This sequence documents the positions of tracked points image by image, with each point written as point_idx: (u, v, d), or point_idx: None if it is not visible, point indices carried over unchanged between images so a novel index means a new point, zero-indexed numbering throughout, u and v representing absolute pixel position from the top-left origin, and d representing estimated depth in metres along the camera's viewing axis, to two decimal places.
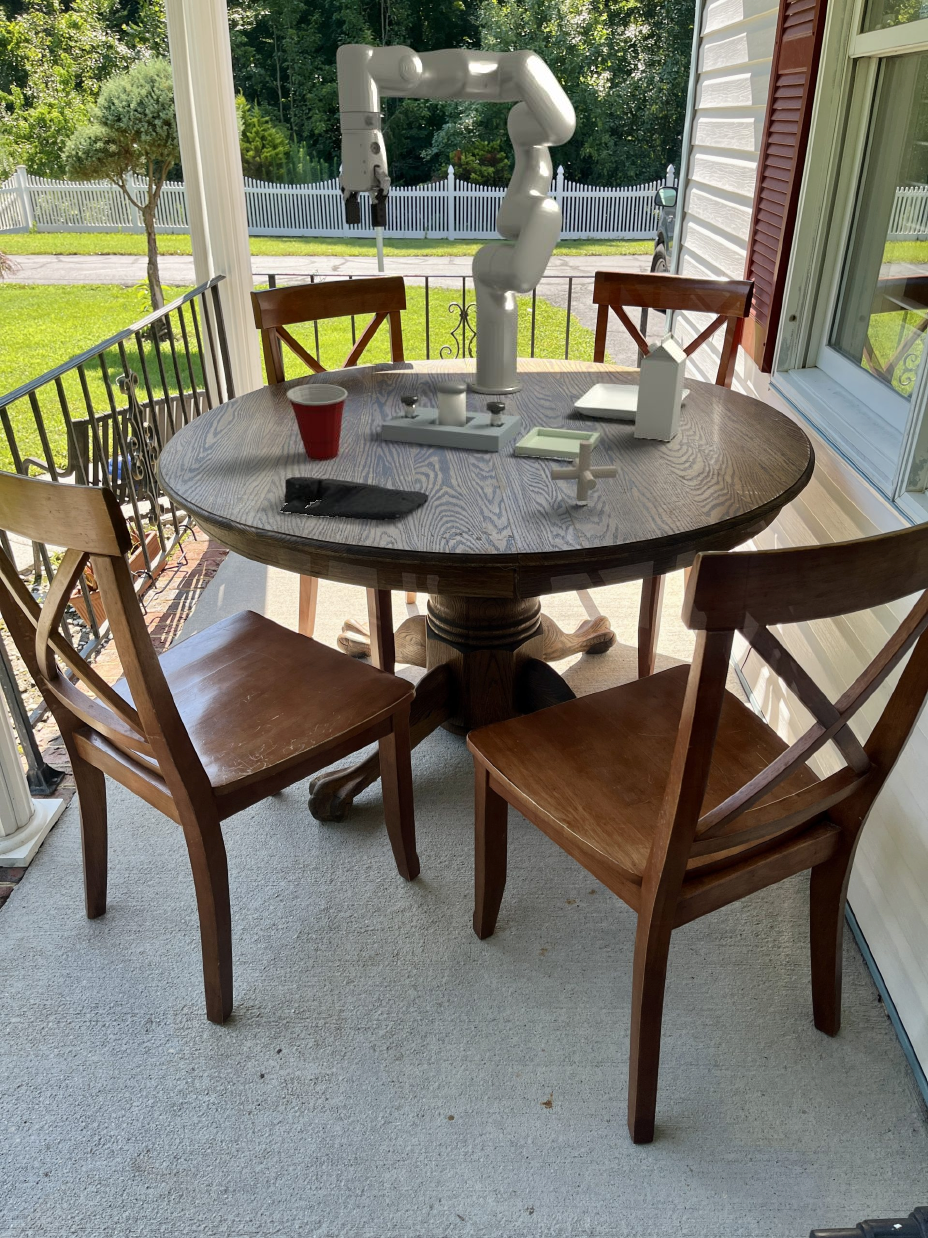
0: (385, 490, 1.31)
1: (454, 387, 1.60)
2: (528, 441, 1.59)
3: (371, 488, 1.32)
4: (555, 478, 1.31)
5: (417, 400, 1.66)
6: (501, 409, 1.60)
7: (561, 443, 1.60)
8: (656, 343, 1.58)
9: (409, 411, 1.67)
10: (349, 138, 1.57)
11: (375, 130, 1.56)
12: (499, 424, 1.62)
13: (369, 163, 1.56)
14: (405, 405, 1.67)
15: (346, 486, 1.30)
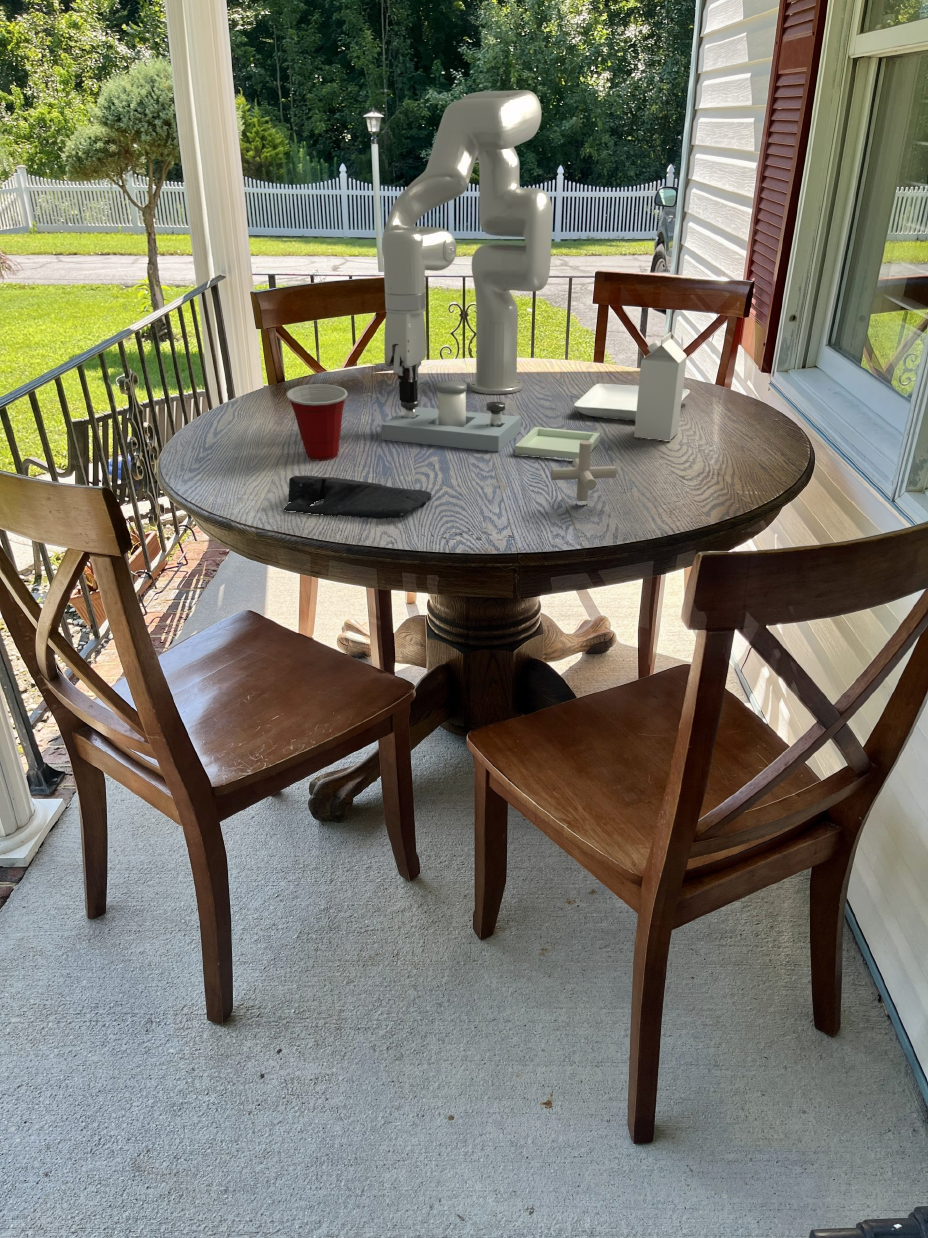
0: (389, 489, 1.31)
1: (454, 387, 1.60)
2: (528, 441, 1.59)
3: (375, 487, 1.32)
4: (555, 478, 1.31)
5: (417, 404, 1.67)
6: (501, 409, 1.60)
7: (561, 443, 1.60)
8: (656, 343, 1.58)
9: (409, 415, 1.67)
10: (418, 316, 1.58)
11: None
12: (499, 424, 1.62)
13: None
14: (405, 409, 1.67)
15: (350, 485, 1.31)
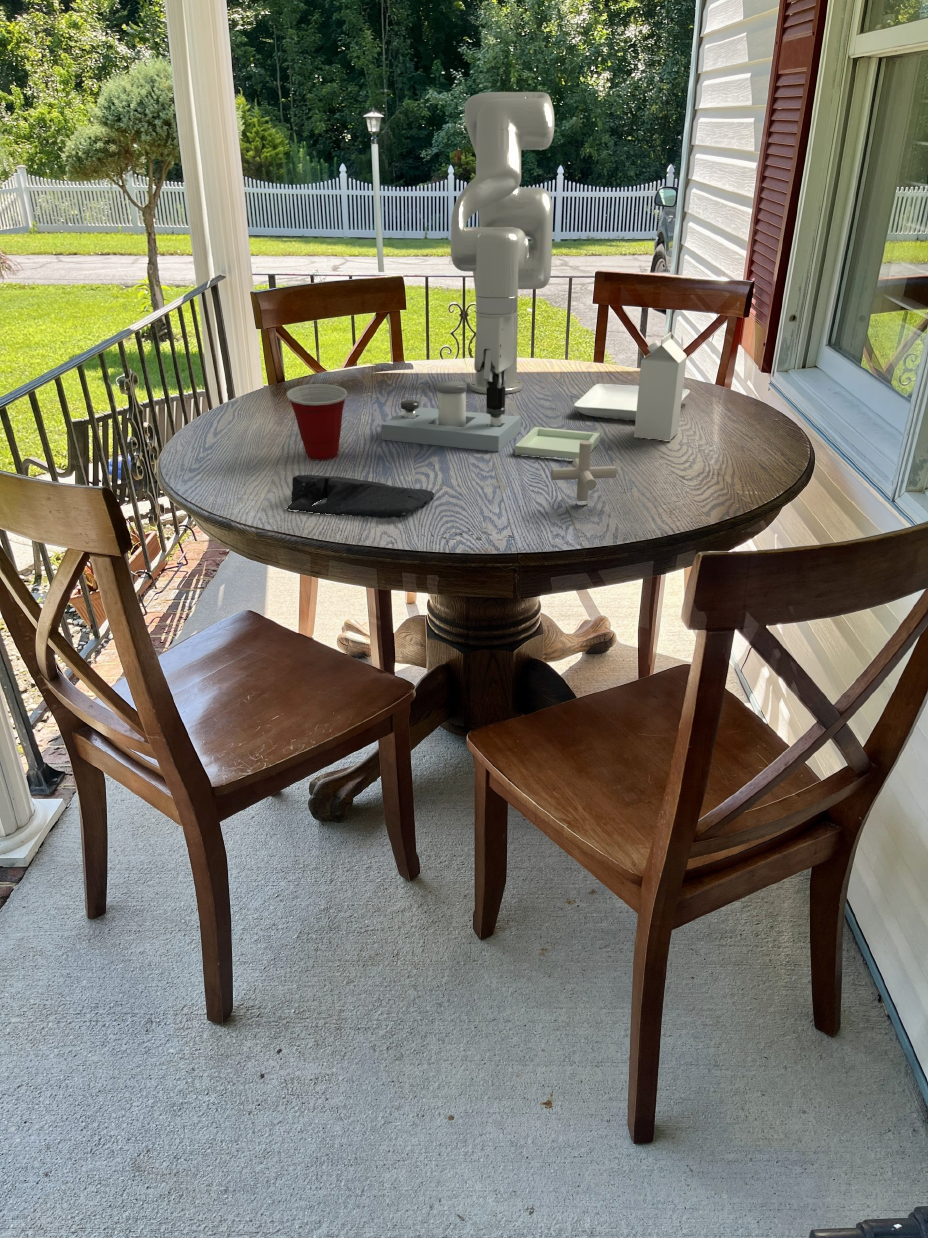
0: (391, 488, 1.32)
1: (454, 387, 1.60)
2: (528, 441, 1.59)
3: (377, 486, 1.32)
4: (555, 478, 1.31)
5: (417, 406, 1.67)
6: (501, 412, 1.60)
7: (561, 443, 1.60)
8: (656, 343, 1.58)
9: (409, 417, 1.68)
10: (509, 320, 1.53)
11: None
12: None
13: None
14: (405, 411, 1.67)
15: (353, 484, 1.31)
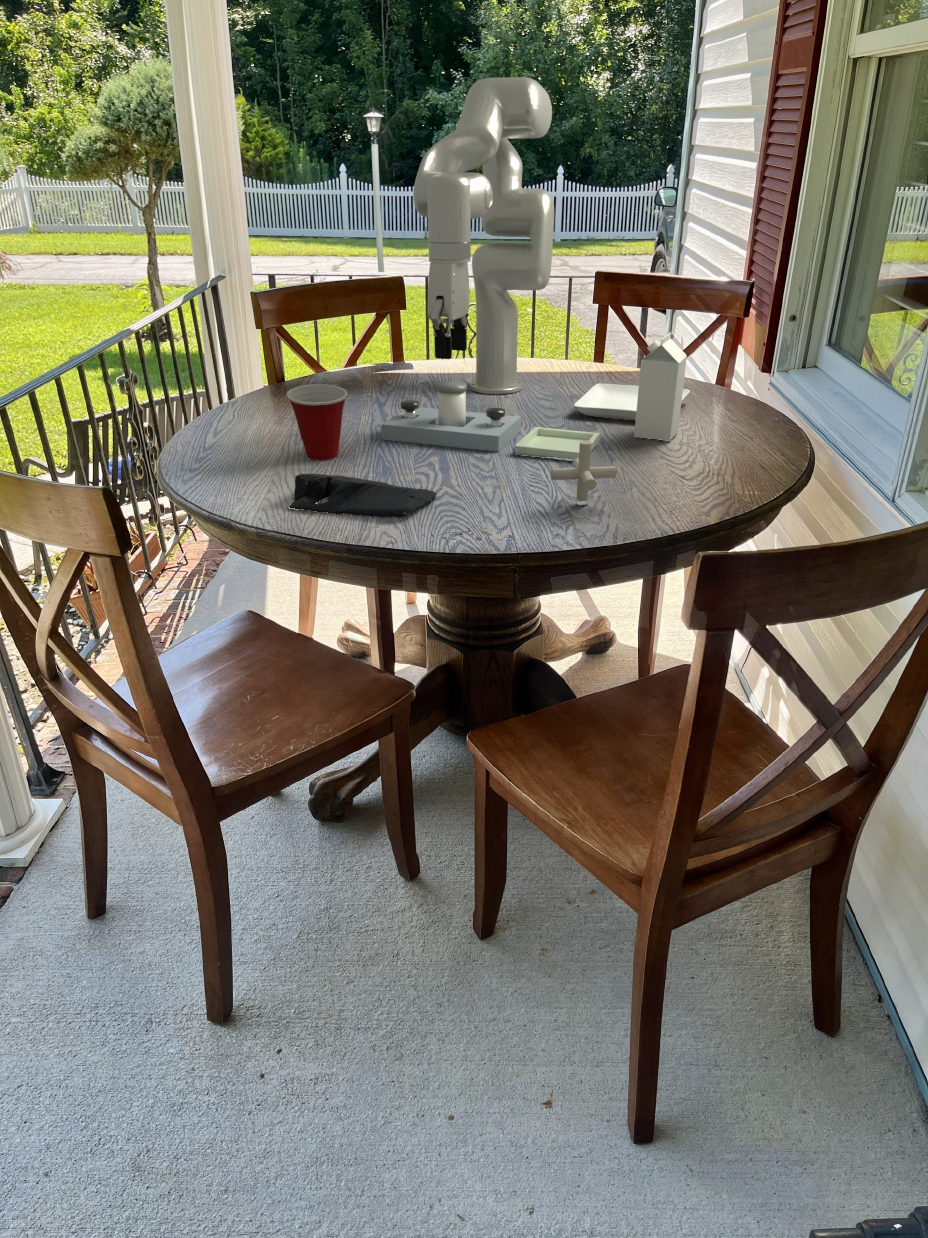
0: (393, 488, 1.32)
1: (454, 387, 1.60)
2: (528, 441, 1.59)
3: (379, 485, 1.33)
4: (555, 478, 1.31)
5: (417, 406, 1.67)
6: (501, 415, 1.61)
7: (561, 443, 1.60)
8: (656, 343, 1.58)
9: (409, 417, 1.68)
10: (462, 267, 1.51)
11: None
12: None
13: None
14: (405, 411, 1.67)
15: (354, 483, 1.31)
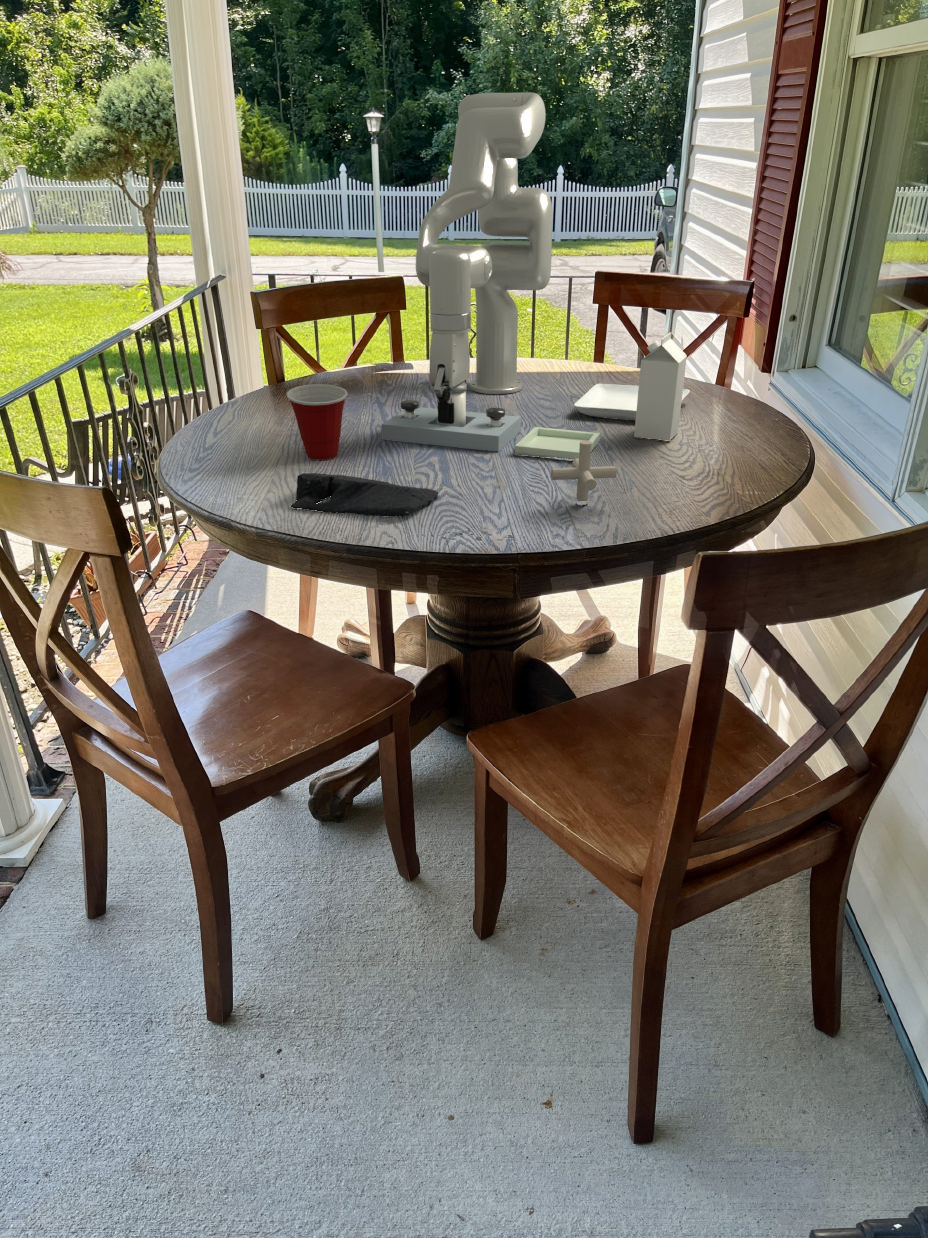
0: (395, 487, 1.32)
1: (454, 387, 1.60)
2: (528, 441, 1.59)
3: (381, 485, 1.33)
4: (555, 478, 1.31)
5: (417, 406, 1.67)
6: (501, 415, 1.61)
7: (561, 443, 1.60)
8: (656, 343, 1.58)
9: (409, 417, 1.68)
10: (463, 336, 1.57)
11: None
12: None
13: None
14: (405, 411, 1.67)
15: (356, 483, 1.32)
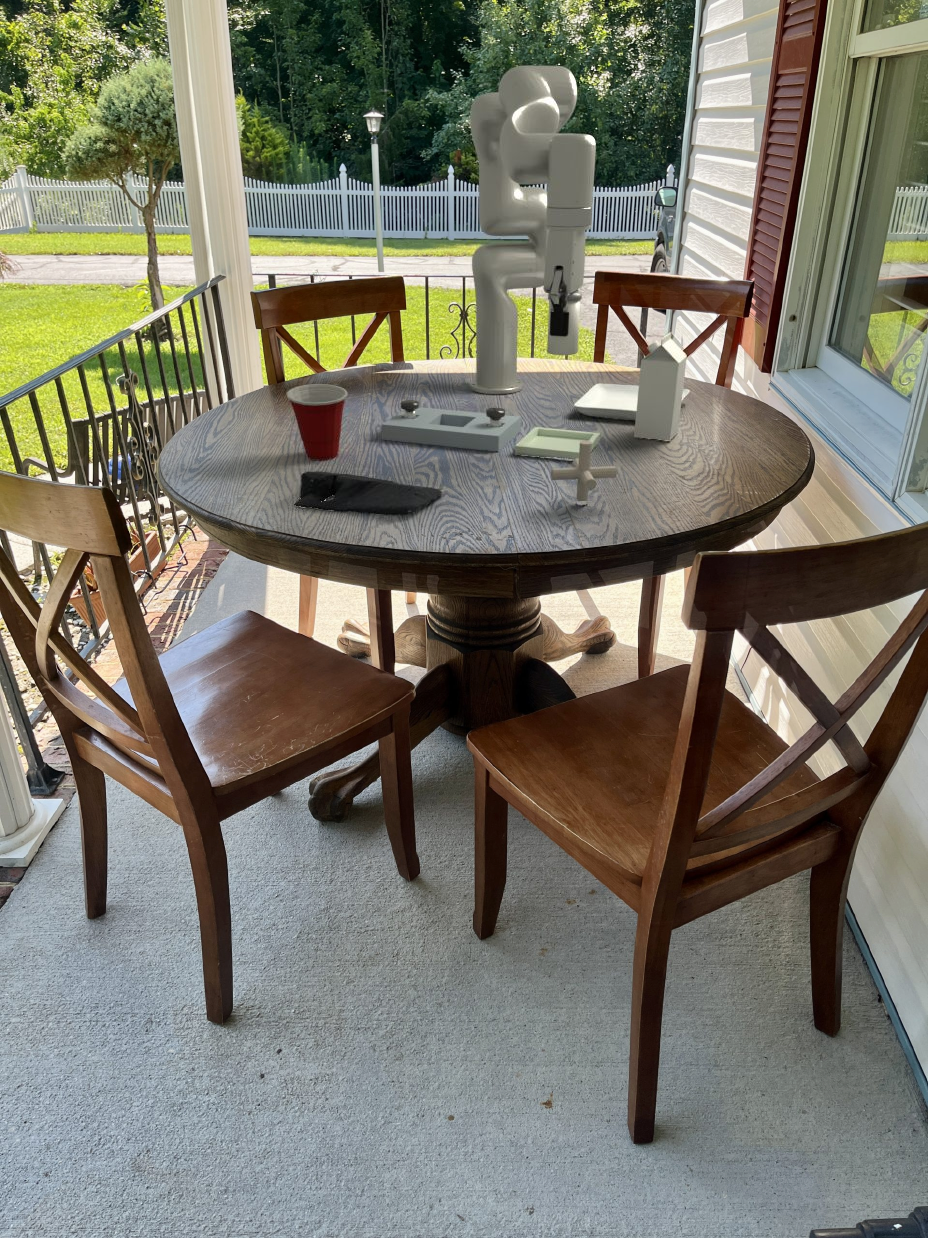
0: (398, 485, 1.32)
1: (569, 294, 1.44)
2: (528, 441, 1.59)
3: (385, 483, 1.33)
4: (555, 478, 1.31)
5: (417, 406, 1.67)
6: (501, 415, 1.61)
7: (561, 443, 1.60)
8: (656, 343, 1.58)
9: (409, 417, 1.68)
10: (582, 235, 1.40)
11: None
12: None
13: None
14: (405, 411, 1.67)
15: (360, 481, 1.32)
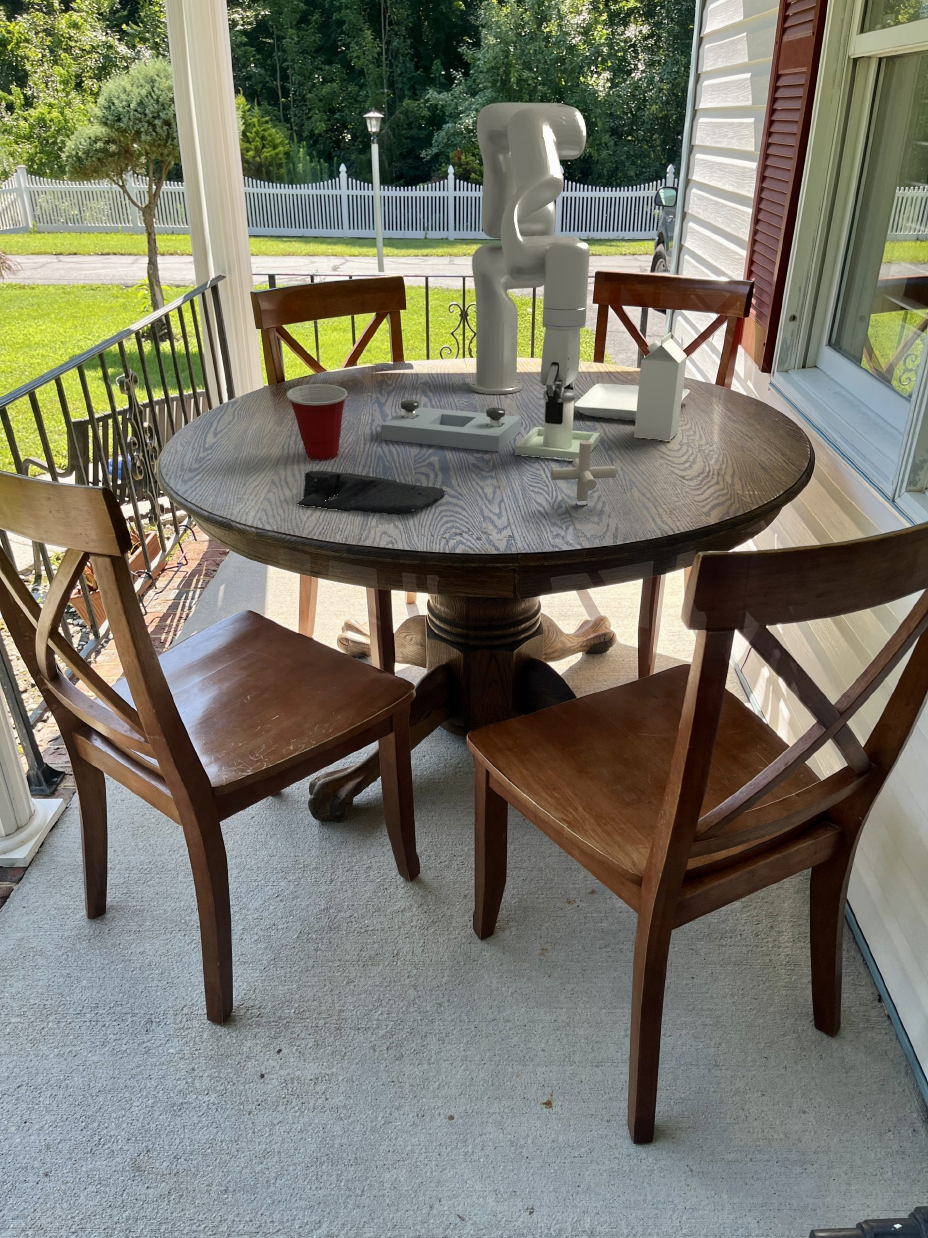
0: (401, 485, 1.33)
1: (564, 395, 1.52)
2: (528, 441, 1.59)
3: (388, 483, 1.34)
4: (555, 478, 1.31)
5: (417, 406, 1.67)
6: (501, 415, 1.61)
7: None
8: (656, 343, 1.58)
9: (409, 417, 1.68)
10: (577, 332, 1.48)
11: None
12: None
13: None
14: (405, 411, 1.67)
15: (363, 480, 1.33)
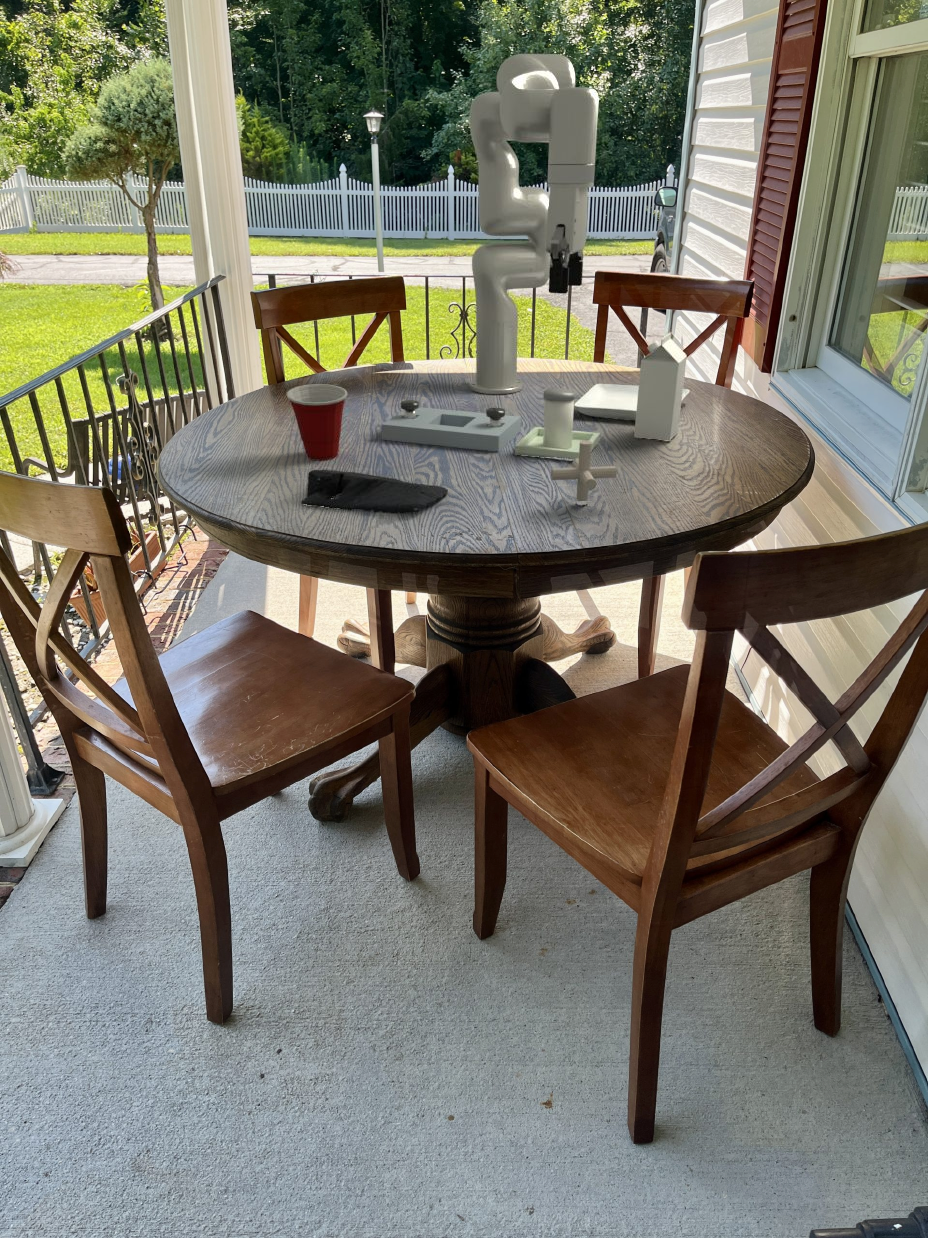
0: (404, 484, 1.33)
1: (564, 395, 1.52)
2: (528, 441, 1.59)
3: (391, 482, 1.34)
4: (555, 478, 1.31)
5: (417, 406, 1.67)
6: (501, 415, 1.61)
7: None
8: (656, 343, 1.58)
9: (409, 417, 1.68)
10: (585, 193, 1.37)
11: None
12: None
13: None
14: (405, 411, 1.67)
15: (366, 479, 1.33)
